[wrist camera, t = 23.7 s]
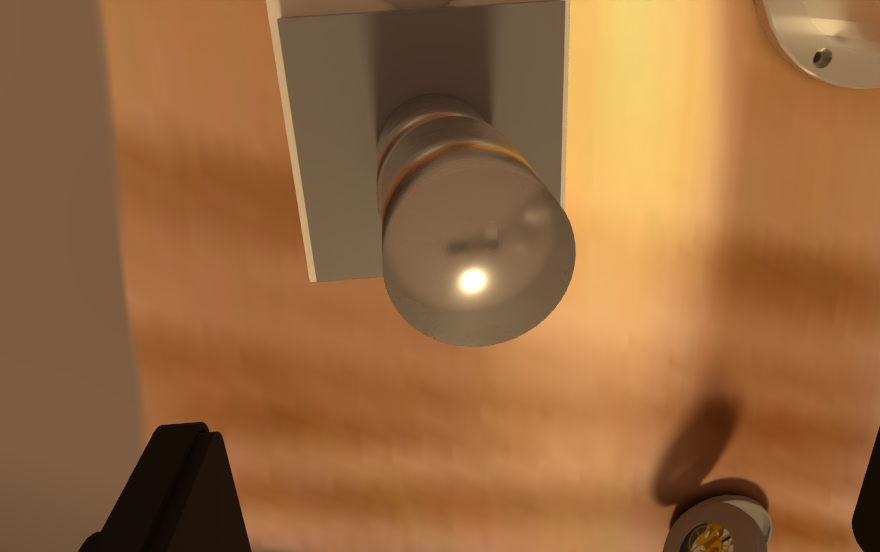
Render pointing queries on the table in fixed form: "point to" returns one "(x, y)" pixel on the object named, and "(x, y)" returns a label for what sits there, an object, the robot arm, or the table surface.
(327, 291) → the table surface
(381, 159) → the cylinder
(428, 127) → the cylinder
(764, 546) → the pocket watch
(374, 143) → the scale
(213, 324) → the table surface
